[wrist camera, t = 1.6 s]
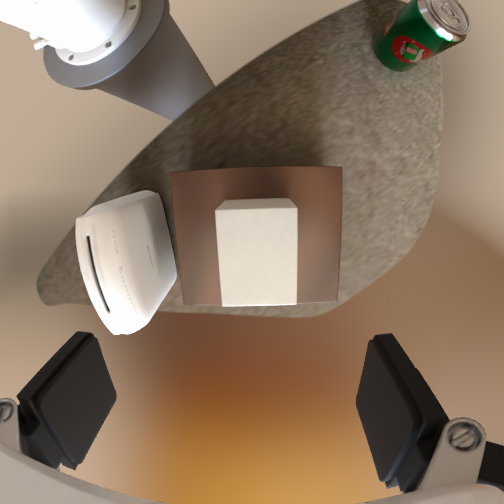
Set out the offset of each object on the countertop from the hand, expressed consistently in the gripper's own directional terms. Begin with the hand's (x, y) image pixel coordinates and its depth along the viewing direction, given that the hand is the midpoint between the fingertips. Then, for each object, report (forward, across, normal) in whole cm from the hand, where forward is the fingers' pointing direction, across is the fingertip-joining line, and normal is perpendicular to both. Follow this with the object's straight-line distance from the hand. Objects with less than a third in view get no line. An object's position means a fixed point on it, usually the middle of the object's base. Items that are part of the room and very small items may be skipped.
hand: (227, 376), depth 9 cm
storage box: (+21, -1, -1) cm, 21 cm away
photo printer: (+21, +10, 0) cm, 24 cm away
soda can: (+21, -16, -20) cm, 33 cm away
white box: (+15, -1, -1) cm, 15 cm away
